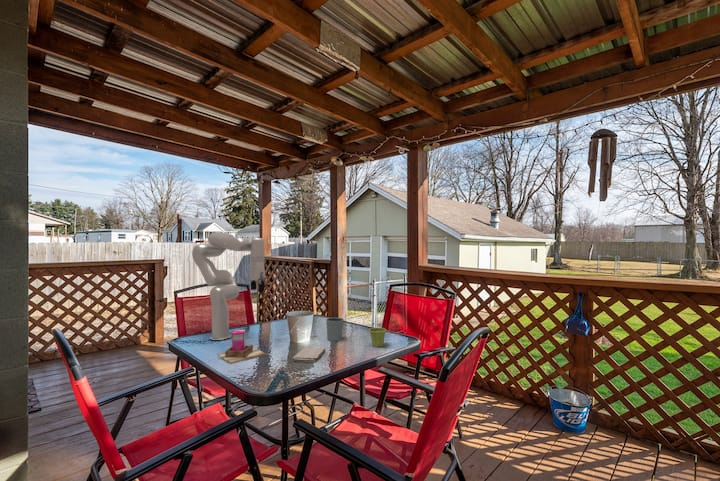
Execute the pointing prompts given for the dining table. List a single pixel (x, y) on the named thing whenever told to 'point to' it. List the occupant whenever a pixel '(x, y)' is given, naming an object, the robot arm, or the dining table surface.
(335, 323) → the grey green embossed cup
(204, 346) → the dining table surface
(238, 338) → the supplement box
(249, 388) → the dining table surface
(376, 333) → the plant pot
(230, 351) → the collar holder
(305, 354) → the washcloth
